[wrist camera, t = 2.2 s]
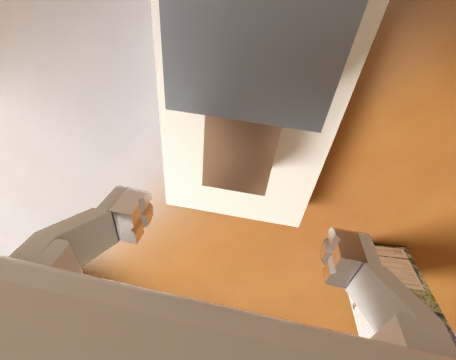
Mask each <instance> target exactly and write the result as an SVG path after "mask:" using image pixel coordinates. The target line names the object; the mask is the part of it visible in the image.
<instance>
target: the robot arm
mask: <svg viewBox="0 0 456 360" xmlns="http://www.w3.org/2000/svg"><path fill="white" fill-rule="evenodd" d="M151 199H152V197H151V193H150V192H147V191H142V190H137V189H133V188H127V187H123V186H117V187H115V188H114V189H113V190H112V192H111V193H110V194H109V195H108V196H107V197H106V198H105V199H104V200H103V201H102V203H101V204H100V205H99V206H98V207H97V208H92V209H89V210H87V211H84V212H82V213H80V214H77V215H75V216H73V217H70V218H68V219H66V220H63V221H61V222H58V223H56V224H54V225H51V226H49V227H47V228H44V229H42V230H39V231H37V232H35V233H34V234H33V235H31V236H30V237H29V238H28V239H27V240H26V241H25V242H24V243H23V244H22V245H21V246H20V247H19V248H17V249H16V250H15V251H14V252H13V253H12V254H11V255H10V256H9V257H7V256H3V255H0V360H456V346H455V344H454V342H453V340H452V338H451V336H450V334H449V332H448V330H447V328H446V326H445V324H444V322H443V321H442V320H441V319H440V318H439V317H438V316H437V315H436V314H435V313H434V312H433V311H432V310H431V309H430V308H429V307H428V306H427V305H425V304H424V303H423V302H422V301H421V300H420V299H419V298H418V297H417V296H416V295H415V294H414V293H413V292H412V291H411V290H410V289H409V288H408V287H406V286H405V285H404V284H403V283H402V282H401V281H400V280H399V279H398V278H397V277H396V276H395V275H394V274H393V273H392V272H391V271H390V270H389V269H388V268H386V267H383V266H382V264H381V261H380V259H379V256H378V254H377V251H376V249H375V246H374V244H373V241H372V239H371V236H370V235H369V234H367V233H361V232H355V231H350V230H344V229H339V228H334V227H331V228H330V229H329V231H328V238H327V239H325V240H324V241H323V243H322V246H321V261H322V262H323V263H324V265H325V266H324V268H323V275H324V281H325V284H328V285H332V286H336V287H341V288H345V290H346V291H347V293H348V294H349V296H350V297H351V299H352V300H353V301H354V303H355V304H356V306H357V307H358V309H359V310H360V312H361V313H362V314H363V316H364V317H365V319H366V320H367V322H368V323H369V325H370V326H371V327H372V329H373V330H374V332H375V334H374V335H373V336H372V337H371V338H370V339H369V338H365V337H360V336H356V335H351V334H347V333H343V332H338V331H334V330H329V329H325V328H321V327H316V326H312V325H307V324H303V323H298V322H294V321H290V320H285V319H281V318H276V317H272V316H268V315H263V314H259V313H254V312H250V311H245V310H241V309H237V308H232V307H228V306H223V305H219V304H214V303H210V302H206V301H201V300H197V299H192V298H188V297H184V296H179V295H175V294H170V293H166V292H162V291H157V290H153V289H148V288H144V287H139V286H135V285H131V284H126V283H122V282H117V281H113V280H109V279H104V278H100V277H95V276H91V275H87V274H84V273H83V271H82V269H81V267H82V266H83V265H85V264H86V263H88V262H89V261H91V260H92V259H94V258H95V257H97V256H98V255H100V254H101V253H103V252H104V251H106V250H107V249H109V248H110V247H112V246H113V245H115V244H116V243H118V242H119V241H124V242H129V243H135V244H137V243H138V241H139V240H140V238H141V236H142V235H143V233H144V231H143V228H144V227H146V226H148V225H149V223H150V221H151V218H152V215H153V206H152V205H151V203H150V201H151Z"/></svg>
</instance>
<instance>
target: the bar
mask: <svg viewBox="0 0 456 360" xmlns="http://www.w3.org/2000/svg"><path fill="white" fill-rule="evenodd" d="M281 129H282V127H278V126H272V125H265V124H258V123H252V122H245V121H239V120H232V119H226V118H219V117H213V116H206V115H205V124H204V149H203V174H202V186H208V187H214V188H220V189H225V190H231V191H237V192H243V193H249V194H255V195H260V196H265V193H266V189H267V185H268V181H269V177H270V173H271V169H272V165H273V161H274V157H275V153H276V149H277V145H278V141H279V137H280V133H281Z"/></svg>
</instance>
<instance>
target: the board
mask: <svg viewBox="0 0 456 360" xmlns="http://www.w3.org/2000/svg"><path fill="white" fill-rule="evenodd" d="M389 1H390V0H150V4H151V16H152V29H153V42H154V54H155V67H156V80H157V92H158V105H159V117H160V130H161V143H162V155H163V168H164V180H165V193H166V204H170V205H175V206H181V207H187V208H192V209H198V210H203V211H209V212H215V213H220V214H226V215H232V216H237V217H243V218H248V219H254V220H260V221H265V222H271V223H277V224H282V225H288V226H293V227H299V225H300V222H301V220H302V217H303V215H304V212H305V210H306V207H307V205H308V202H309V200H310V197H311V195H312V192H313V190H314V187H315V185H316V182H317V180H318V177H319V175H320V172H321V170H322V167H323V165H324V162H325V160H326V157H327V155H328V153H329V150H330V148H331V145H332V143H333V140H334V138H335V135H336V133H337V130H338V128H339V125H340V123H341V120H342V118H343V115H344V113H345V110H346V108H347V105H348V103H349V100H350V98H351V95H352V93H353V90H354V88H355V85H356V83H357V80H358V78H359V75H360V73H361V70H362V68H363V66H364V63H365V61H366V58H367V56H368V53H369V51H370V48H371V46H372V43H373V41H374V38H375V36H376V33H377V31H378V28H379V26H380V23H381V21H382V18H383V16H384V13H385V11H386V8H387V6H388V3H389ZM205 115H206V116H213V117H219V118H226V119H232V120H239V121H245V122H252V123H258V124H265V125H272V126H278V127H282V129H281V133H280V137H279V141H278V145H277V149H276V153H275V157H274V161H273V165H272V169H271V173H270V177H269V181H268V185H267V189H266V193H265V196H260V195H255V194H249V193H243V192H237V191H231V190H225V189H220V188H214V187H208V186H202V174H203V149H204V124H205Z"/></svg>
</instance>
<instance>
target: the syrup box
mask: <svg viewBox="0 0 456 360" xmlns="http://www.w3.org/2000/svg"><path fill="white" fill-rule="evenodd" d="M374 246H375V249H376V251H377V254H378V256H379V259H380V261H381V264H382V266H383V267H386V268H388V269H389V270H390V271H391V272H392V273H393V274H394V275H395V276H396V277H397V278H398V279H399V280H400V281H401V282H402V283H403V284H404V285H405V286H406V287H408V288H409V289H410V290H411V291H412V292H413V293H414V294H415V295H416V296H417V297H418V298H419V299H420V300H421V301H422V302H423V303H424V304H425V305H427V306H428V307H429V308H430V309H431V310H432V311H433V312H434V313H435V314H436V315H437V316H438V317H439V318H440V319H441V320H442V321H443V322H444V324H445V326H446V328H447V330H448V332H449V334H450V336H451V338H452V340H453V342H454V344H455V346H456V337H455V335H454V333H453V331H452V329H451V327H450V326H449V324H448V322H447V320H446V318H445V316H444V314H443V313H442V311H441V309H440V307H439V305H438V303H437V302H436V300H435V298H434V296H433V294H432V293H431V291H430V289H429V287H428V285H427V283H426V282H425V280H424V278H423V276H422V274H421V273H420V271H419V269H418V267H417V265H416V263H415V262H414V260H413V258H412V256H411V254H410V252H409V250H408V249H407V248H406V247H397V246H387V245H377V244H374ZM349 299H350V302H351V306H352V310H353V314H354V318H355V322H356V326H357V330H358V334H359V336H360V337H365V338H369V339H370V338H371V337H372V336H373V335H374V334H375V332H374V330H373V329H372V327H371V326H370V325H369V323H368V322H367V320H366V319H365V317H364V316H363V314H362V313H361V312H360V310H359V309H358V307H357V306H356V304H355V303H354V301H353V300H352V299H351V297H350V296H349Z"/></svg>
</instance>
